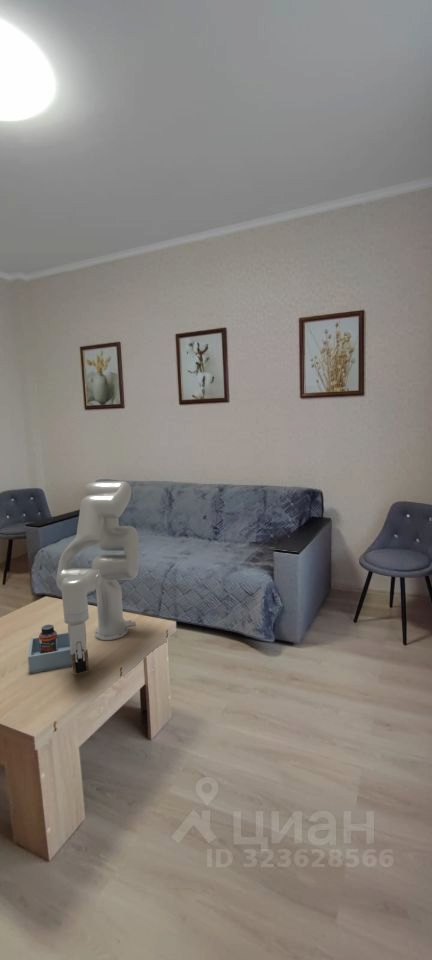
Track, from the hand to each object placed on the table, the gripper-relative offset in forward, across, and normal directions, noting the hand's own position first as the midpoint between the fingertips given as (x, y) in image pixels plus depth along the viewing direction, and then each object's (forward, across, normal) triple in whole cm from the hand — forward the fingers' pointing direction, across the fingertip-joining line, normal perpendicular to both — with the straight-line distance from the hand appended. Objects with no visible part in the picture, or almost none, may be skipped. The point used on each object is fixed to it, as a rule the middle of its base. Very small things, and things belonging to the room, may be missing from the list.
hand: (80, 667), depth 149 cm
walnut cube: (+1, 0, 0) cm, 1 cm away
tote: (+3, -15, -8) cm, 17 cm away
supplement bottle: (+3, -15, -10) cm, 18 cm away
